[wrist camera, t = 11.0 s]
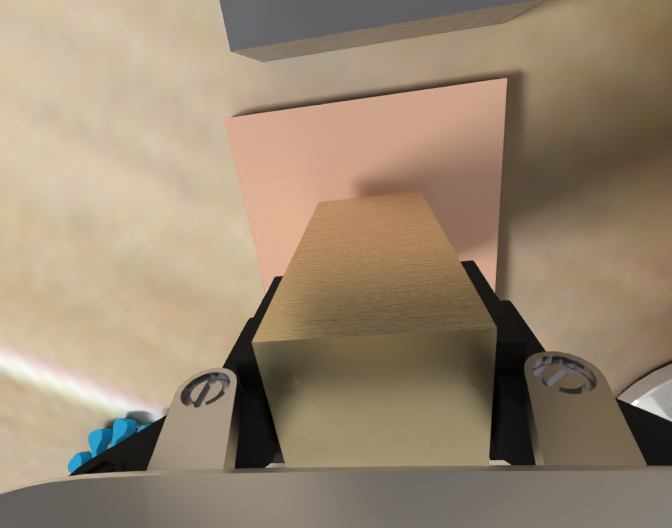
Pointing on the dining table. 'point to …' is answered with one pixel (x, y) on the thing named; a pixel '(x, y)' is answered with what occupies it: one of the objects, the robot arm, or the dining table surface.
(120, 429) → the gear
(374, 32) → the grey block with hole
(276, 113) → the terracotta tile
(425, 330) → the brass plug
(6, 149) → the dining table surface
